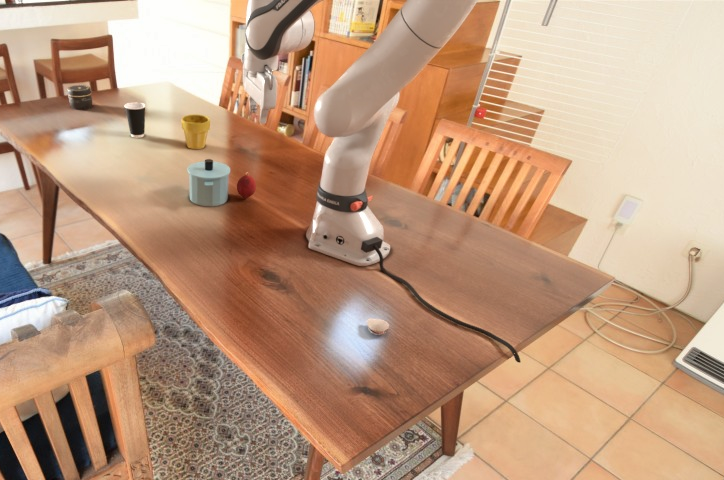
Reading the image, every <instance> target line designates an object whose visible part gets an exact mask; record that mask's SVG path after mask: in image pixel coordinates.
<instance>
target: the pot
mask: <svg viewBox="0 0 724 480" xmlns="http://www.w3.org/2000/svg"><path fill="white" fill-rule="evenodd" d="M229 175H230V174H229ZM229 175H227V176H226V177H223V178H219V179H200V178H196V177H193V176H191V175H190V174H189V173H188V181H189V182H188V191H189V201H191V202H192V203H193V204H194V205H197V206H201V207H218V206H221V205H223V204H225V203H227V201H228V199H229V177H230V176H229Z"/></svg>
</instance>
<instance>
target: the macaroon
mask: <svg viewBox="0 0 724 480" xmlns="http://www.w3.org/2000/svg"><path fill="white" fill-rule="evenodd" d="M366 326H367V329H368V331H369V332H370V333H371V334H373V335H377V336H381V335H385V334H386V333H387V332H388V330H389V328H390V324H389V322H387V321H386V320H384V319H380V318H367V319H366Z"/></svg>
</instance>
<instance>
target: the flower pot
mask: <svg viewBox="0 0 724 480" xmlns="http://www.w3.org/2000/svg"><path fill="white" fill-rule="evenodd" d="M181 129H182V131H183V134H184V139H185V143H186V147H187V148H189V149H192V150H202V149H204V148H205V146H206V142H207V137H208V132H209V131H210V129H211V118H210V117H209V116H207V115H204V114H187V115H184V116H182V118H181Z"/></svg>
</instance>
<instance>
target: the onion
mask: <svg viewBox="0 0 724 480" xmlns="http://www.w3.org/2000/svg"><path fill="white" fill-rule="evenodd" d="M256 189H257V183H256V181H255V179H254V178H253V177H252V176H251V175H250V172H248V171H247V172H245V174H244V175H243V176H241V177H240V178H239V179H238V181H237V183H236V191H237V193H238V194H239V196H240V197H242V198H243V199H245V200H246V199H248V198H250V197H252V196H253V195H254V194H255V192H256Z"/></svg>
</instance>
